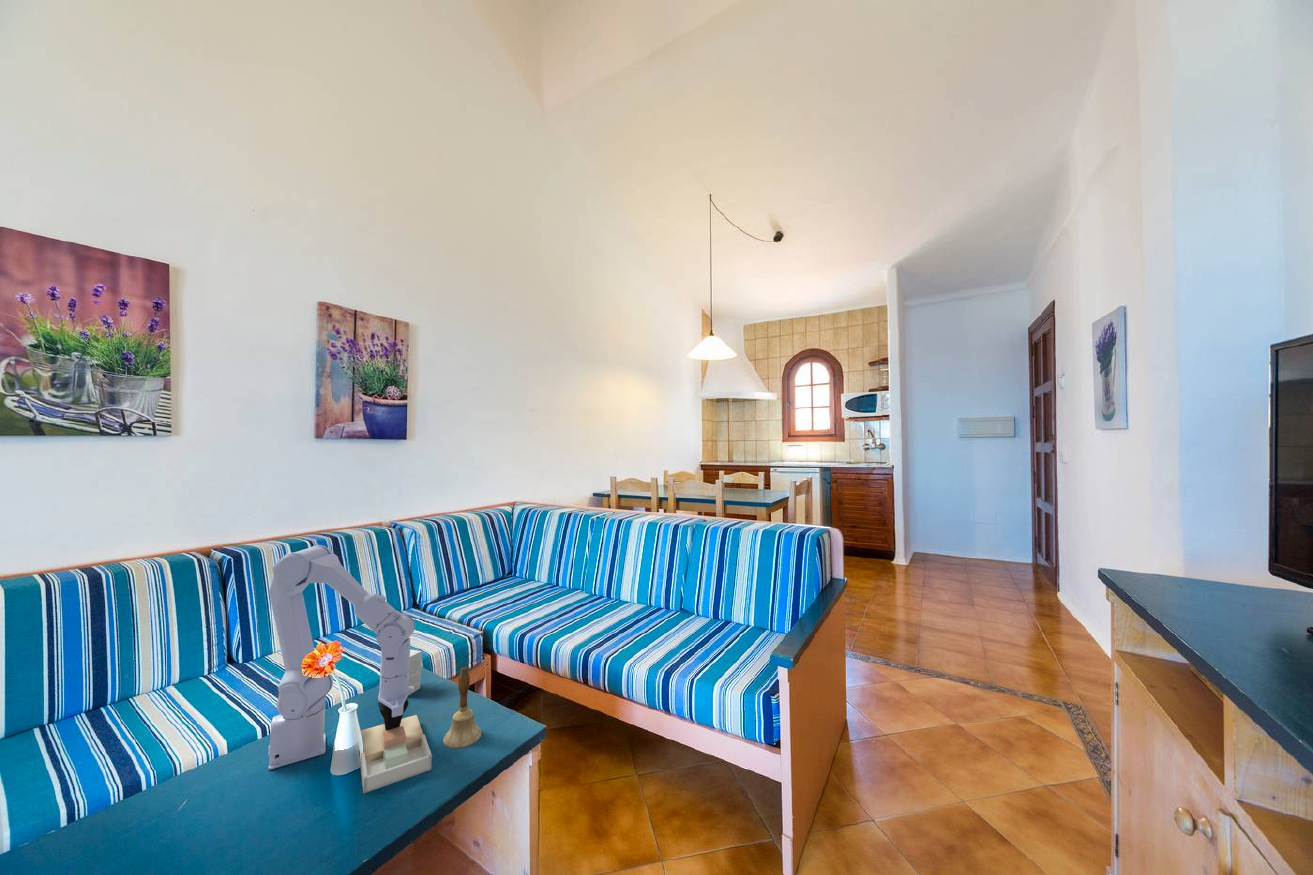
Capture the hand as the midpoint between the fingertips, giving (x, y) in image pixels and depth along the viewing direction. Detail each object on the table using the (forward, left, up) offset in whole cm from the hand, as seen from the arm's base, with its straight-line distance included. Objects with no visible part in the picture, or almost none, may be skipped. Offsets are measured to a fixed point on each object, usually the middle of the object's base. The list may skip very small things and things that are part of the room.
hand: (392, 734), depth 102 cm
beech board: (0, +2, -3) cm, 3 cm away
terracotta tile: (0, -3, -1) cm, 3 cm away
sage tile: (0, -7, -2) cm, 7 cm away
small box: (+5, +26, -3) cm, 27 cm away
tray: (0, -8, -3) cm, 9 cm away
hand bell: (+14, -5, -3) cm, 15 cm away
